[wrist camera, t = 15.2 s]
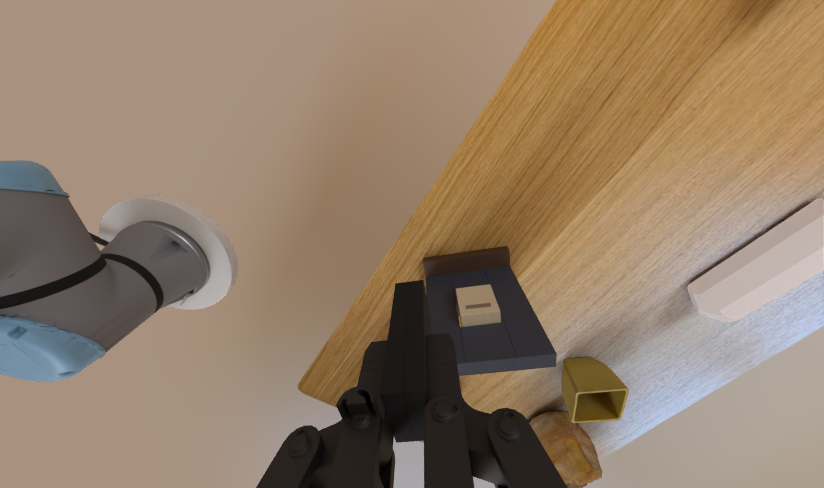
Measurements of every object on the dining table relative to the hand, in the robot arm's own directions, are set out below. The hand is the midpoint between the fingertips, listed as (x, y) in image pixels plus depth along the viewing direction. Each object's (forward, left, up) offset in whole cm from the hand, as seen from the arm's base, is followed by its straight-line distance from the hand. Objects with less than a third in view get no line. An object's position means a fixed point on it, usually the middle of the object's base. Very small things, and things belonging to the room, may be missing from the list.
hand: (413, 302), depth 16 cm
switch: (+10, -14, -22) cm, 28 cm away
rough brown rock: (+37, -60, -31) cm, 77 cm away
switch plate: (+11, -18, -30) cm, 37 cm away
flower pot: (+36, -36, -31) cm, 59 cm away
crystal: (+56, -8, -31) cm, 64 cm away
